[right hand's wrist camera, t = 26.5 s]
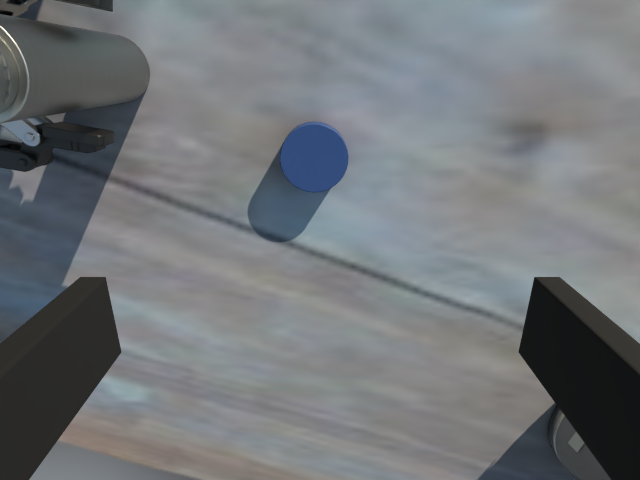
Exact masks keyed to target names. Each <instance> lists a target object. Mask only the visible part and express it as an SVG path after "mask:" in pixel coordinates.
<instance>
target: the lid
mask: <svg viewBox="0 0 640 480" xmlns="http://www.w3.org/2000/svg"><path fill="white" fill-rule="evenodd" d="M280 163H281V168H282V170H283V173H284V175H285V176H286V178H287V179H288V180H289V181H290V183H292V184H293V185H294V186H295V187H297V188H299V189H301V190H304V191H308V192H321V191H325V190H328V189H330V188H332V187H333V186H335V185H336V184H337V183H338V182H339V181H340V180H341V179H342V177H343V176H344V174H345V172H346V169H347V165H348V151H347V148H346V145H345V142H344V140H343V138H342V137H341V135H340V134H339V133H338V132H337V131H336V130H335V129H334V128H333V127H331V126H329V125H327V124H325V123H321V122H308V123H304V124H301V125H299V126H297V127H296V128H294V129H293V130H292V131H291V132H290V133H289V134H288V136H287V137H286V139H285V141H284V143H283V146H282V149H281V153H280Z"/></svg>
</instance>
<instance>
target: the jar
mask: <svg viewBox="0 0 640 480" xmlns="http://www.w3.org/2000/svg"><path fill="white" fill-rule="evenodd" d="M149 78H150V72H149V66H148V62H147V60H146V58H145V56H144V54H143V52H142V51H141V50H140V48H139V47H138V46H137V45H136V44H135V43H133V42H132V41H130V40H129V39H127V38H125V37H122V36H119V35H114V34H108V33H102V32H97V31H91V30H86V29H80V28H75V27H69V26H63V25H58V24H52V23H47V22H41V21H36V20H30V19H24V18H19V17H13V16H8V15H2V14H0V123H6V122H12V121H18V120H24V119H30V118H36V117H42V116H48V115H54V114H60V113H66V112H72V111H78V110H84V109H90V108H96V107H102V106H108V105H114V104H120V103H126V102H131V101H134V100H136V99H138V98H139V97H140V96H141V95H142V94H143V93H144V92H145V90H146V89H147V86H148V83H149Z"/></svg>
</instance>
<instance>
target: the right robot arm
mask: <svg viewBox="0 0 640 480" xmlns="http://www.w3.org/2000/svg"><path fill="white" fill-rule="evenodd" d="M120 353H121V348H120V343H119V339H118V334H117V329H116V324H115V320H114V315H113V310H112V306H111V301H110V296H109V291H108V287H107V282H106V277H80V278H79V279H78V280H76V281H75V282H74V283H73V284H72V285H70V286H69V287H68V288H67V289H66V290H64V291H63V292H62V293H61V294H60V295H58V296H57V297H56V298H55V299H54V300H52V301H51V302H50V303H49V304H48V305H46V306H45V307H44V308H43V309H42V310H40V311H39V312H38V313H37V314H36V315H34V316H33V317H32V318H31V319H30V320H28V321H27V322H26V323H25V324H24V325H22V326H21V327H20V328H19V329H18V330H16V331H15V332H14V333H13V334H12V335H10V336H9V337H8V338H7V339H6V340H4V341H3V342H2V343H1V344H0V480H29V479H30V477H31V476H32V475H33V473H34V472H35V471H36V469H37V468H38V466H39V465H40V464H41V462H42V461H43V459H44V458H45V457H46V455H47V454H48V453H49V451H50V450H51V449H52V447H53V446H54V444H55V443H56V442H57V440H58V439H59V437H60V436H61V435H62V433H63V432H64V431H65V429H66V428H67V426H68V425H69V424H70V422H71V421H72V420H73V418H74V417H75V415H76V414H77V413H78V411H79V410H80V408H81V407H82V406H83V404H84V403H85V402H86V400H87V399H88V397H89V396H90V395H91V393H92V392H93V391H94V389H95V388H96V386H97V385H98V384H99V382H100V381H101V379H102V378H103V377H104V375H105V374H106V373H107V371H108V370H109V368H110V367H111V366H112V364H113V363H114V362H115V360H116V359H117V357H118V356H119V355H120ZM519 353H520V355H521V356H522V357H523V359H524V360H525V362H526V363H527V364H528V366H529V367H530V368H531V370H532V371H533V373H534V374H535V375H536V377H537V378H538V379H539V381H540V382H541V384H542V385H543V386H544V388H545V389H546V391H547V392H548V393H549V395H550V396H551V397H552V399H553V400H554V402H555V403H556V404H557V408H556V409H555V411H554V413H553V415H552V417H551V420H550V424H549V431H548V434H549V441H550V444H551V447H552V449H553V450H554V452H555V454H556V455H557V457H558V458H559V460H560V461H561V463H562V464H563V465H564V466H565V467H566V469H567V470H568V471H569V472H570V473H571V474H572V475H573V476H575V477H576V478H578V479H579V480H640V344H639V343H638V342H637V341H636V340H634V339H633V338H632V337H631V336H630V335H628V334H627V333H626V332H625V331H624V330H622V329H621V328H620V327H619V326H618V325H616V324H615V323H614V322H613V321H612V320H610V319H609V318H608V317H607V316H606V315H604V314H603V313H602V312H601V311H600V310H598V309H597V308H596V307H595V306H594V305H592V304H591V303H590V302H589V301H588V300H586V299H585V298H584V297H583V296H582V295H580V294H579V293H578V292H577V291H576V290H574V289H573V288H572V287H571V286H570V285H568V284H567V283H566V282H565V281H564V280H562V279H561V278H560V277H534V282H533V287H532V291H531V296H530V301H529V306H528V310H527V315H526V320H525V324H524V329H523V334H522V339H521V343H520V348H519Z"/></svg>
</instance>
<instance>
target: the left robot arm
mask: <svg viewBox="0 0 640 480" xmlns="http://www.w3.org/2000/svg"><path fill="white" fill-rule="evenodd" d="M36 1H38V0H0V14H2V15H8V16H13V17H17V16H19V15H21V14H22V13H24V12H26V11H27V10H28V6H29V5H31V4H33V3H35V2H36ZM56 1H61V2H66V3H71V4H76V5H81V6H86V7H91V8H96V9H101V10H106V11H112V12H113V0H56ZM0 125H2V126H3V127H5V128H6V129H7V130H8V131H10V132H11V133H12V134H14V135H15V136H16V137H17V138H19V139H20V140H21V141H22V143H19V142H13V141H8V140H2V139H0V167H1V168H7V169H12V170H18V171H23V172H26V171H30V170H32V169H34V168H36V167H39V166H42V165H47V164H50V163H51V162H52V161H53V154H52V150H53V148H54V147H55V148H60V149H66V150H73V151H78V152H83V153H91V152H96V151H98V150H101V149H104V148H105V145H108V144H111V143H114V132H113V131H110V130H105V129H99V128H94V127H88V126H82V125H77V124H71V123H66V122H58V123H53V122H52V121H51V120H49V119H48V118H47V117H46V116H42V117H36V118H30V119H24V120H18V121H12V122H6V123H0Z"/></svg>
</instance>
